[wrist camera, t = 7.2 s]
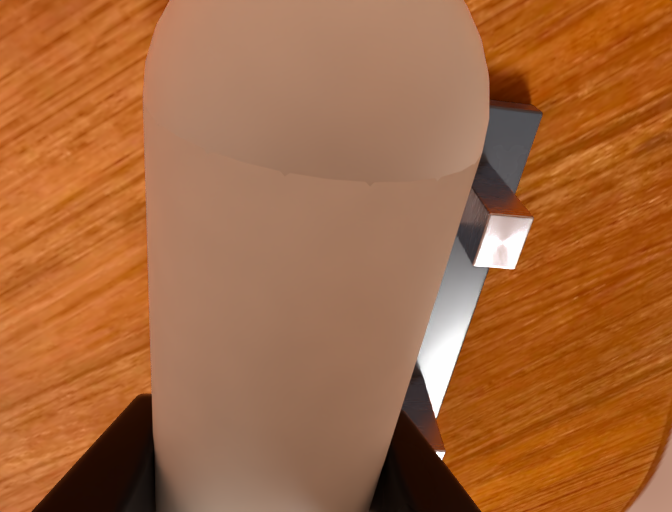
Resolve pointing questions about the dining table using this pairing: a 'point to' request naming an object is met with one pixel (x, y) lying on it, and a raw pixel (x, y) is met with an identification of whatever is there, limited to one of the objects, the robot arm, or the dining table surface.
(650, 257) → the dining table surface
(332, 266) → the soldering pen
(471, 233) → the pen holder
